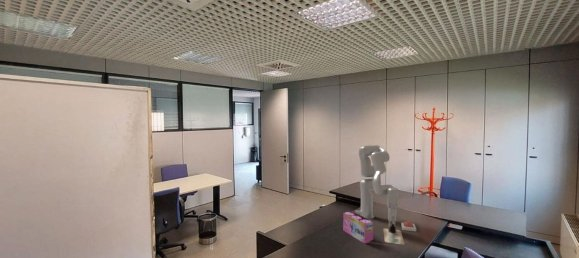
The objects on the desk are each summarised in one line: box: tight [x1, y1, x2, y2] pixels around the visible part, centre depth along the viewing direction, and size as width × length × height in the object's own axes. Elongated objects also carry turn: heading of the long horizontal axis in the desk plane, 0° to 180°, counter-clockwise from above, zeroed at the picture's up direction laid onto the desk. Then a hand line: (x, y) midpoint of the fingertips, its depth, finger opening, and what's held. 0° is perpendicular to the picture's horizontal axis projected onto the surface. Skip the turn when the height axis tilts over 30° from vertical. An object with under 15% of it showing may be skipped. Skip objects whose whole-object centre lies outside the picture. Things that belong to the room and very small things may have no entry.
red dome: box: [404, 220, 413, 228], centre depth 188 cm, size 5×5×6 cm
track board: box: [382, 228, 405, 245], centre depth 176 cm, size 12×22×1 cm, turn 163°
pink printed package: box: [342, 210, 375, 245], centre depth 179 cm, size 24×8×14 cm, turn 27°
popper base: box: [400, 221, 417, 232], centre depth 188 cm, size 9×9×3 cm
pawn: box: [388, 221, 397, 233], centre depth 182 cm, size 5×5×9 cm
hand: (392, 229), depth 182 cm, fingers closed on pawn, 4 cm apart
